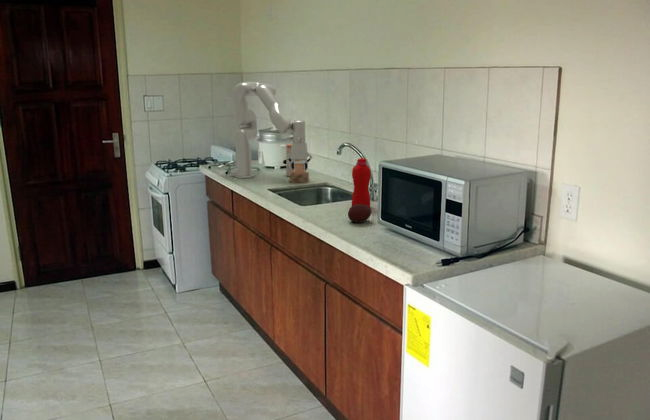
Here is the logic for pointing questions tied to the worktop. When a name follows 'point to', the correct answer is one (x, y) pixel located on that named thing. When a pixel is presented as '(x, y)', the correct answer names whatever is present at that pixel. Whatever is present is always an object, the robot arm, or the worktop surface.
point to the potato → (359, 213)
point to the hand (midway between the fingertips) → (299, 169)
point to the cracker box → (288, 163)
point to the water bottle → (361, 183)
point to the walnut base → (299, 177)
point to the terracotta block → (299, 168)
